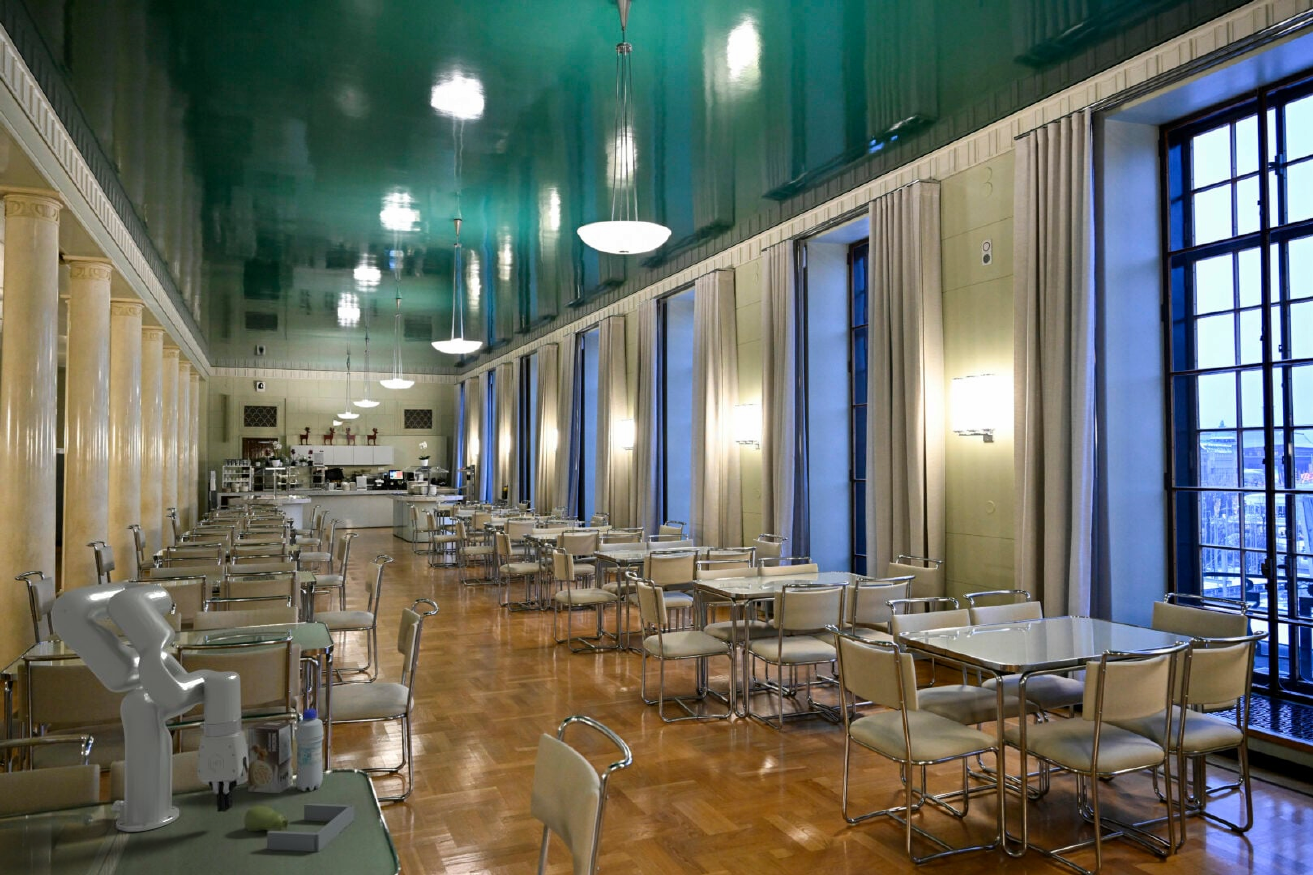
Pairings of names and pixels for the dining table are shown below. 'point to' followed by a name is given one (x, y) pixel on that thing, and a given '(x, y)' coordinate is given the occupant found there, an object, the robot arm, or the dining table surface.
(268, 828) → the pear
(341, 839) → the dining table surface
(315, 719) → the bottle
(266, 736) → the coffee box
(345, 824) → the box
